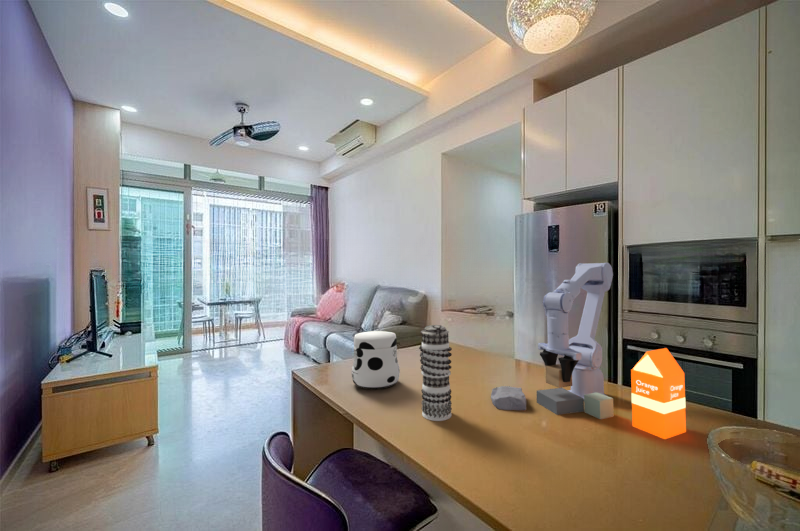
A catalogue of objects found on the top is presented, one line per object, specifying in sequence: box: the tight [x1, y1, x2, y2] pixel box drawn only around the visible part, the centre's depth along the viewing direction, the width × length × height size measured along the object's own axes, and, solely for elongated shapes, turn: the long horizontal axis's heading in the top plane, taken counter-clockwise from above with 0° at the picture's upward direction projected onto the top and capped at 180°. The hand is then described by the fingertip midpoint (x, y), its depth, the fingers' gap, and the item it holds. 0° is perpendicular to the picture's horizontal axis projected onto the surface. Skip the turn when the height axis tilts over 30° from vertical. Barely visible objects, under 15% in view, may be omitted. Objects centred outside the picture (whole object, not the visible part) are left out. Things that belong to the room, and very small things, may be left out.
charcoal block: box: [536, 387, 584, 416], centre depth 100 cm, size 9×9×4 cm
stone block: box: [490, 385, 527, 411], centre depth 104 cm, size 12×5×10 cm
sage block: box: [583, 392, 615, 420], centre depth 94 cm, size 5×5×5 cm
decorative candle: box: [418, 324, 453, 422], centre depth 96 cm, size 9×9×25 cm
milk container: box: [351, 330, 401, 390], centre depth 122 cm, size 17×17×18 cm
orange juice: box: [630, 347, 687, 440], centre depth 85 cm, size 8×9×20 cm
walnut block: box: [545, 363, 572, 388], centre depth 100 cm, size 5×5×5 cm
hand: (558, 378), depth 100 cm, fingers closed on walnut block, 5 cm apart
